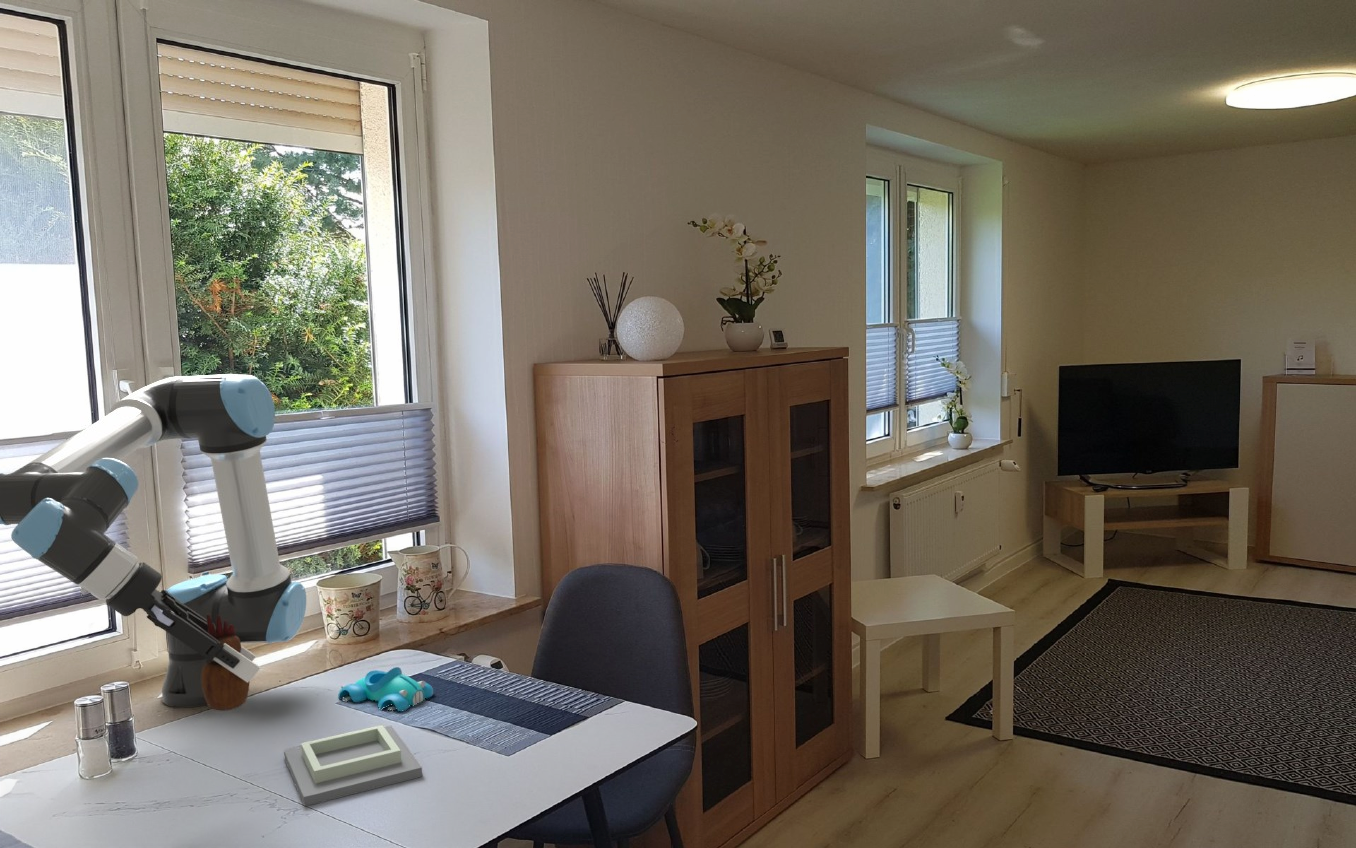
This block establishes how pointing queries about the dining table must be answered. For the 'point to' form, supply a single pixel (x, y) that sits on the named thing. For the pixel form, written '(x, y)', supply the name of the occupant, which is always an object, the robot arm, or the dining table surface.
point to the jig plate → (350, 764)
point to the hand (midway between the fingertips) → (251, 668)
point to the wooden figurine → (223, 673)
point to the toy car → (387, 689)
